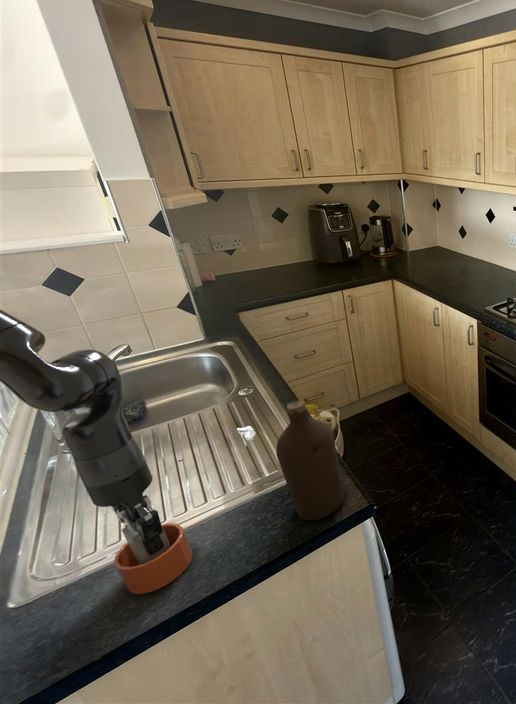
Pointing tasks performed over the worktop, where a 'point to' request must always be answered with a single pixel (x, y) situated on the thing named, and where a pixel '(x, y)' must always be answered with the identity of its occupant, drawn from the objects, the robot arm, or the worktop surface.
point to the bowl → (155, 563)
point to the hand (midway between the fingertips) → (150, 545)
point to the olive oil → (309, 464)
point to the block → (139, 548)
